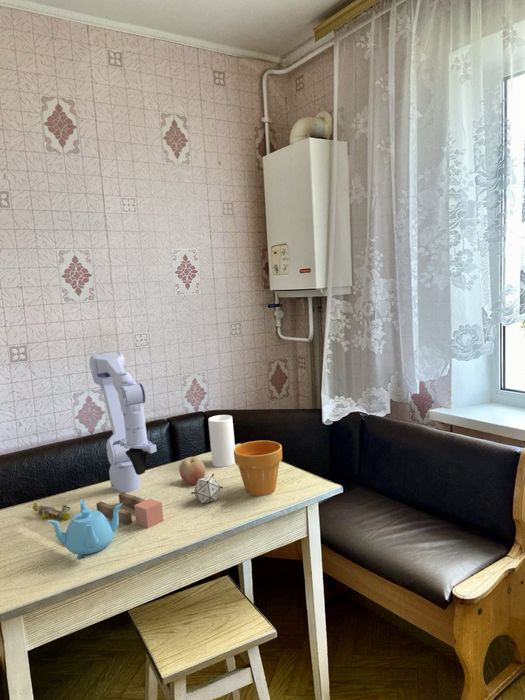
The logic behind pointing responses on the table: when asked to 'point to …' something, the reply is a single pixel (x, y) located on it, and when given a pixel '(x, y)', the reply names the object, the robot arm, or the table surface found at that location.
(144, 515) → the block
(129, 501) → the chute
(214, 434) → the white tall cylinder
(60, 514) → the toy
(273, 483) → the flower pot
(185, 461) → the fruit
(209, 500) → the game die
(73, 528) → the teapot
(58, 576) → the table surface
